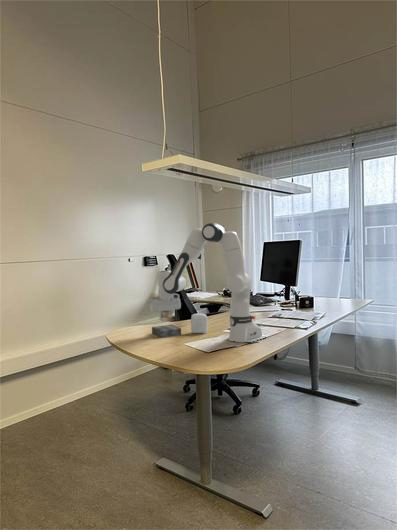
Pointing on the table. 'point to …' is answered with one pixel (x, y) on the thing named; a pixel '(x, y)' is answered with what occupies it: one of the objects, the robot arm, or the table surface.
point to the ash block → (166, 316)
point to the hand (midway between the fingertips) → (165, 317)
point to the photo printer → (199, 323)
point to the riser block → (166, 331)
